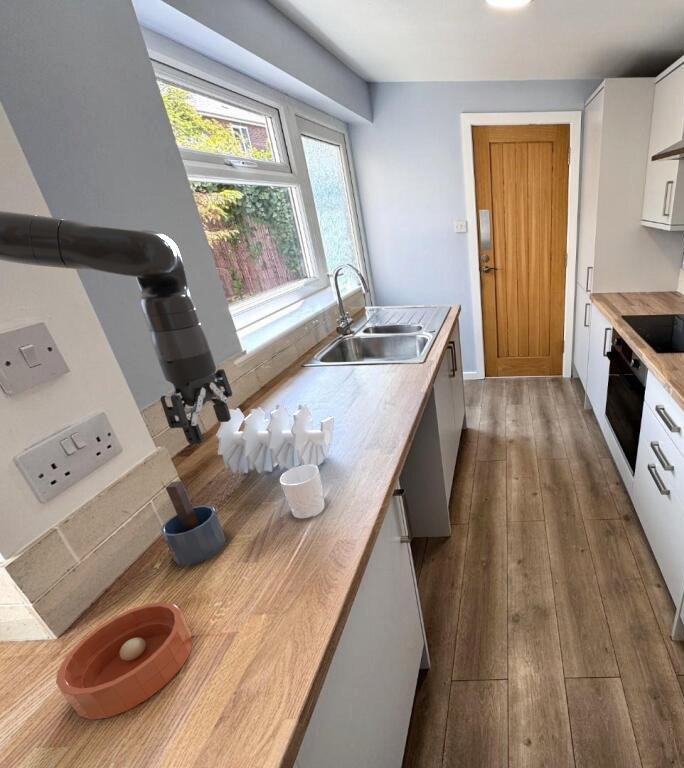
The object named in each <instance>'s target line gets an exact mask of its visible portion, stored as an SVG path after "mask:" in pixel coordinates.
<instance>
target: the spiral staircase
mask: <svg viewBox="0 0 684 768" xmlns="http://www.w3.org/2000/svg"><path fill="white" fill-rule="evenodd" d="M228 410H229V412H230V417H231V420H229V421H228V422H219V423H220V426H219V428H218V430H217V432H216V433H215V435H214V436H215V437H216V439H217V440H218V448H217V455H219V456H220V455H221V456H222V460H223V462H224V463H223V464H224V467H225V468H224V469H226V470H228V469H230V470H231V472H232V474H236V473H237V471H238V472H241V473H244V474H248V473H249V470H252V471H253V470H256V471H257V473H258V474H261V473H262V471H264V472H270V473H271V472H273V469H274V468H276V467H277V466H278V468H279V470H283V468H285V469H286V470H287V471H288V470H289V469H291V468H294V467H297V466H300V465H315V466H316V467H318V466H320V465H321V464H322V463H324V462H325V459H326V458H327V456H328V454H329V452H330V449H331V446H332V443H333V437H334V431H335V422H334V421H335V420H334V416H330V417H328V418H326V419H323V420H322V421H320V430H319V429H318V430H316V429H315V430H314V429H313V428H314V427H313V424H314V423H313V418H311V415H312V414H311V411H310V409H309V407H308V405H307V404H304V405H302V404H299V405H298V410H296V412H294V413H292V416H293V424H292V425H291V417H290V413H289V411H288V410H287V408H286V406H285V405H284V406H282V405H279V404H276V408H275V409H274V410H273V411H272V412H270V413H269V416H270V417H269V418H270V419H269V418H267V419H266V416H267V414H266V413H265V412H264V411H263V408H261V407H260V406H257V408H250V409H249V414H248V415H247V416H245V415H244V413H243V412H242V410H241V409H240V408H239V407H236V408H234V409H233V408H228ZM310 418H311V419H310ZM242 423H243V425H244V428H243V430H242V431H239V430H240V428H241V425H242ZM291 426H292V427H291Z"/></svg>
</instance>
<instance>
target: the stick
mask: <svg viewBox="0 0 684 768" xmlns="http://www.w3.org/2000/svg"><path fill="white" fill-rule="evenodd" d="M165 490H166V493H167V495H168V497H169V498H170V501H171V504H172V506H173V508H174V510H175V512H176V513H175V514H177V515H178V517H179V520H180V522H181V524H182V526H183V529H184V531H185V532H187V531H190V530H192V529H194V528H196V527H198V526H200V525H199V522H198V520H197V517H196V515H195V513H194V510H193V508H192V507H193V506H192V504H191V500H190V499H189V496H188V493H187V491H186V489H185V486H184V484H183V482H182V480H180V481H171V482H169V484H168V485H167V486H166V487H165Z"/></svg>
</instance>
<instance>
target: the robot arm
mask: <svg viewBox="0 0 684 768" xmlns="http://www.w3.org/2000/svg"><path fill="white" fill-rule="evenodd" d="M0 261H2V262H9V263H16V264H22V265H31V266H41V267H48V268H49V267H50V268H60V269H71V270H89V271H91V270H92V271H96V272H103V273H108V274H113V275H120V276H125V277H126V276H127V277H135V279H136V282H137V285H138V288H139V292H140V298H139V304H140V309H141V312H142V314H143V318H144V320H145V321H144V322H145V323H146V326H147V328H148V331H149V334H150V335H149V336H150V341H151V344H152V348H153V350H154V353H155V355H156V358H157V360H158V363H159V364H158V365H159V366H160V369H161V371H162V374H163V377H164V379H165V381H167V382H168V383H170V384H172V385H173V388H174V390H173V393H171V394H167V395H161V396H160V398H159V399H160V404H161V406H162V408H163V412H164V415H165V418H166V421H167V424H168V427H169V429H182V431H183V434H184V437H185V439H186V442H188V443H189V444H190V445H201V444H202V443H203V442H204V441H205V440H204V437H203V434H202V431H201V428H200V426H199V423H198V418H199V414H200V413H202V409H203V407H204V405H206V404H207V402H210V403H212V404H213V405H212V407H213V411H214V414H215V416H216V420H217V421H218V422H219V423H220V422H228V421H229V420H231V417H230V412H229V410H228V409H229V406H228V403H229V397H232V396H233V390H232V387H231V385H230V382H229V380H228V377H227V374H226V371H225V369H223V368H218V369H217V366H216V363H215V360H214V356H213V353H212V350H211V348H210V344H209V341H208V338H207V335H206V333H205V331H204V328H203V327H202V325H201V321H200V317H199V315H198V313H197V309H196V306H195V303H194V301H193V299H192V296H191V293H190V290H189V285H188V279H187V274H186V270H185V266H184V261H183V258H182V255H181V252H180V250H179V248H178V246H177V244H176V243H175V242H174V241H173V240H172V239H171V238H170V237H168V236H167V235H165V234H163V233H162V232H158V231H155V230H148V229H147V230H133V229H125V228H114V227H106V226H96V225H90V224H87V223H85V222H80V221H76V220H70V219H64V218H57V217H50V216H43V215H36V214H27V213H19V212H13V211H3V210H0ZM222 388H223V389H224V390H222ZM187 406H188V407H187ZM188 415H189V418H188V417H187V416H188ZM176 417H177V419H176Z"/></svg>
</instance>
